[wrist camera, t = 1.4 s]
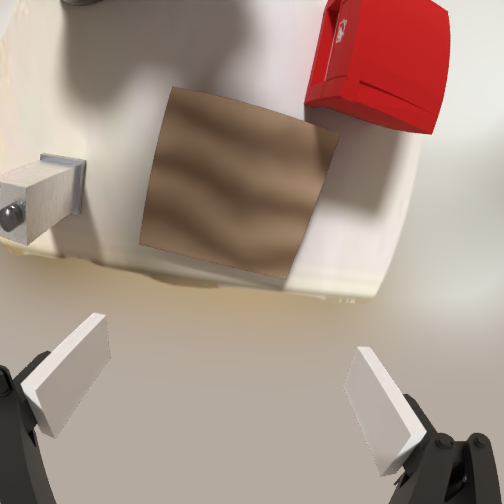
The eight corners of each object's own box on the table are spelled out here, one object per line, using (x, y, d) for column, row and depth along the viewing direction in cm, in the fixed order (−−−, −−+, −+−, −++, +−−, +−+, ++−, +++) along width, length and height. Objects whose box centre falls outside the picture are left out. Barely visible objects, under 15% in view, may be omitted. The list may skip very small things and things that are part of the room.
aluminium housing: (44, 153, 33) (-24, 177, 19) (86, 160, 34) (20, 186, 21) (41, 203, 36) (-19, 242, 23) (80, 213, 38) (23, 259, 24)
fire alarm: (322, 4, 26) (364, -42, 13) (390, 32, 28) (453, 8, 14) (300, 104, 33) (339, 95, 20) (372, 127, 35) (437, 137, 21)
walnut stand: (180, 90, 31) (172, 86, 27) (327, 132, 35) (340, 134, 30) (149, 229, 40) (139, 244, 35) (280, 262, 43) (286, 279, 38)
